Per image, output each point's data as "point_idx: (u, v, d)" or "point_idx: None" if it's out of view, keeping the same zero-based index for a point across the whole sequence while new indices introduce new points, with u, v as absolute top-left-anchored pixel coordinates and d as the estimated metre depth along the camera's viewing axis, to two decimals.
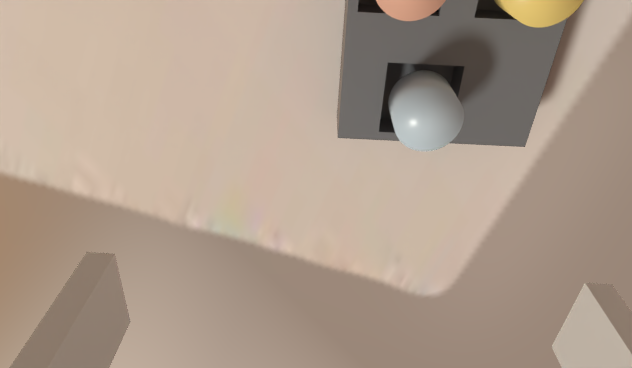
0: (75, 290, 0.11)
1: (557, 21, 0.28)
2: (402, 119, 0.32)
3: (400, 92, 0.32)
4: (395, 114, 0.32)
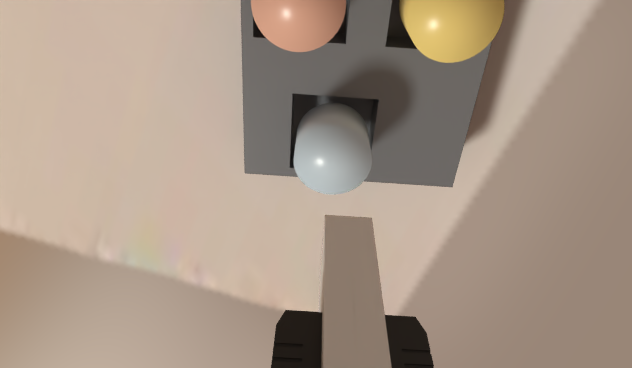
0: (335, 243, 0.13)
1: (468, 56, 0.24)
2: (303, 159, 0.28)
3: (303, 128, 0.29)
4: (294, 154, 0.28)
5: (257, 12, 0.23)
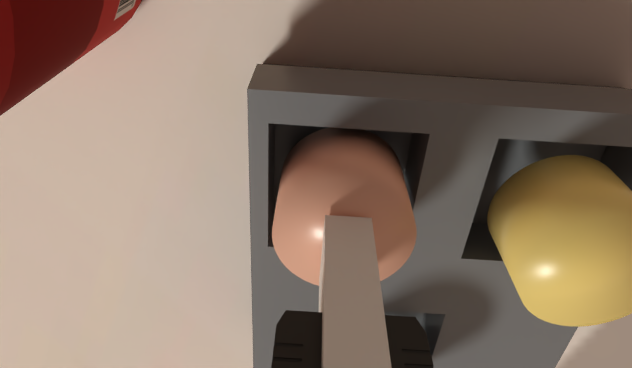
0: (335, 243, 0.13)
1: (607, 320, 0.16)
2: None
3: None
4: None
5: (281, 246, 0.16)
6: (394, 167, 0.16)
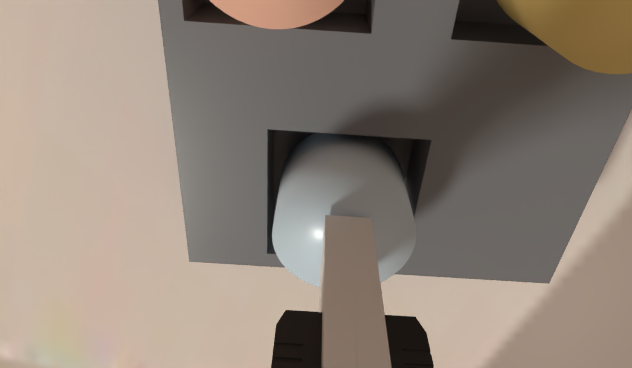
0: (335, 243, 0.13)
1: None
2: (289, 235, 0.15)
3: (290, 176, 0.16)
4: (274, 225, 0.15)
5: None
6: None
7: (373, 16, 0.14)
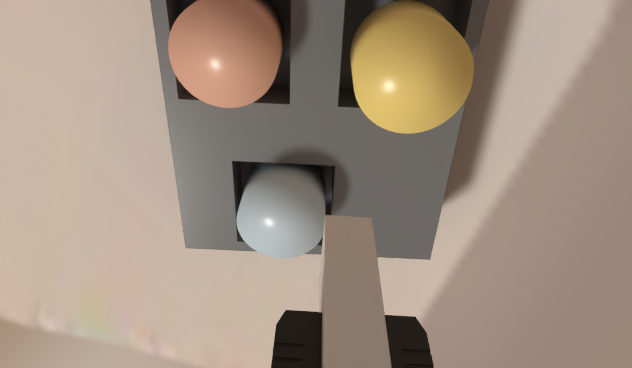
0: (335, 243, 0.13)
1: (432, 126, 0.20)
2: (247, 222, 0.25)
3: (248, 185, 0.25)
4: (237, 216, 0.25)
5: (177, 66, 0.20)
6: (265, 7, 0.21)
7: (290, 94, 0.23)
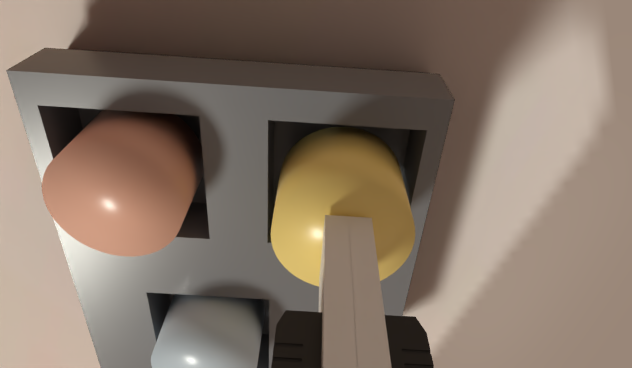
0: (335, 243, 0.13)
1: None
2: (164, 365, 0.21)
3: (167, 318, 0.21)
4: (151, 358, 0.21)
5: (57, 213, 0.16)
6: (170, 139, 0.17)
7: (209, 228, 0.19)
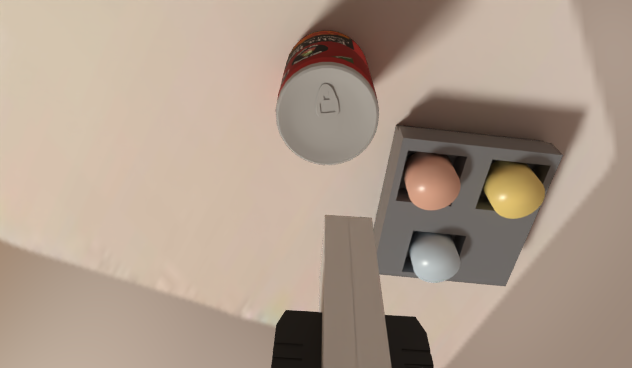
0: (335, 243, 0.13)
1: (522, 216, 0.44)
2: (419, 263, 0.47)
3: (418, 243, 0.48)
4: (415, 260, 0.47)
5: (411, 191, 0.43)
6: (451, 164, 0.43)
7: None
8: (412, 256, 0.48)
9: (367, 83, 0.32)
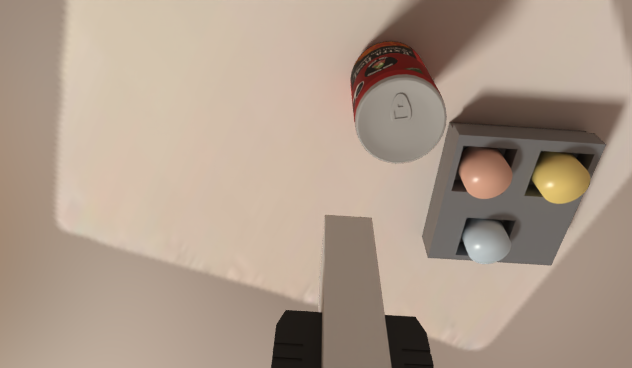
0: (335, 243, 0.13)
1: (569, 201, 0.48)
2: (473, 247, 0.52)
3: (471, 229, 0.53)
4: (469, 244, 0.52)
5: (467, 182, 0.47)
6: None
7: None
8: (466, 240, 0.53)
9: (437, 91, 0.37)
